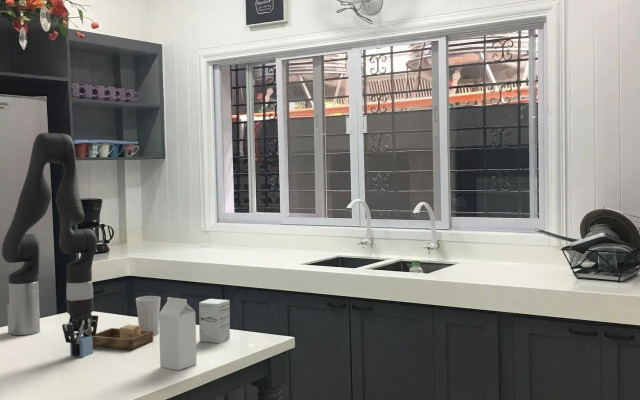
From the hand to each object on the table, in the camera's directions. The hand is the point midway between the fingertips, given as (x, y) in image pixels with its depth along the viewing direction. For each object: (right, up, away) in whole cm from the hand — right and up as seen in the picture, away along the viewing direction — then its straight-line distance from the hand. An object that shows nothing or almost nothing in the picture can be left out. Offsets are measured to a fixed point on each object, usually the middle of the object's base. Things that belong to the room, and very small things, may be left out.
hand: (81, 353), depth 211 cm
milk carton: (+31, -1, -13) cm, 34 cm away
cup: (+14, +1, +25) cm, 28 cm away
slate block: (0, 0, 0) cm, 0 cm away
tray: (+8, 0, +12) cm, 15 cm away
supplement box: (+37, +1, +15) cm, 40 cm away
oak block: (+12, +1, +11) cm, 16 cm away
